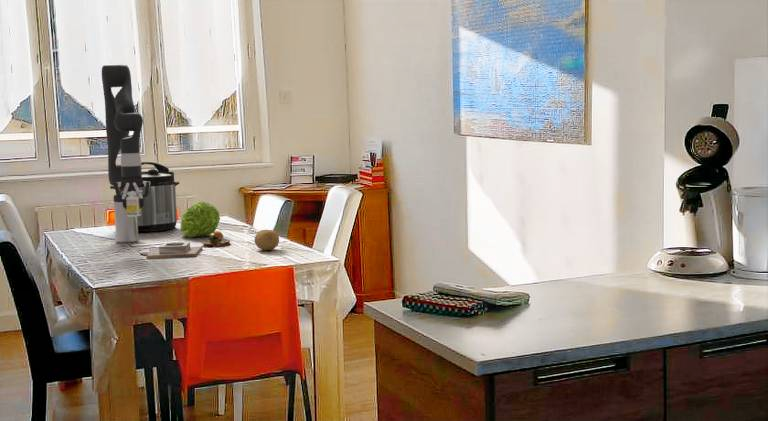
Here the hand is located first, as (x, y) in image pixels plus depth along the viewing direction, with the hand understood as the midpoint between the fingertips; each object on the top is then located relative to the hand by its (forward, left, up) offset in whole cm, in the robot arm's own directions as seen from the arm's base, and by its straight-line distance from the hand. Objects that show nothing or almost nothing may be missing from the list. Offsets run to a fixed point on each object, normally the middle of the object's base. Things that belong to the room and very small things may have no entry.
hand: (133, 208), depth 351 cm
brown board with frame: (+8, +16, -17) cm, 25 cm away
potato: (+7, +51, -18) cm, 55 cm away
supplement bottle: (0, 0, -3) cm, 3 cm away
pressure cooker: (-70, -10, -18) cm, 73 cm away
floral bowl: (-12, +29, -18) cm, 36 cm away
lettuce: (-42, +18, -18) cm, 50 cm away
